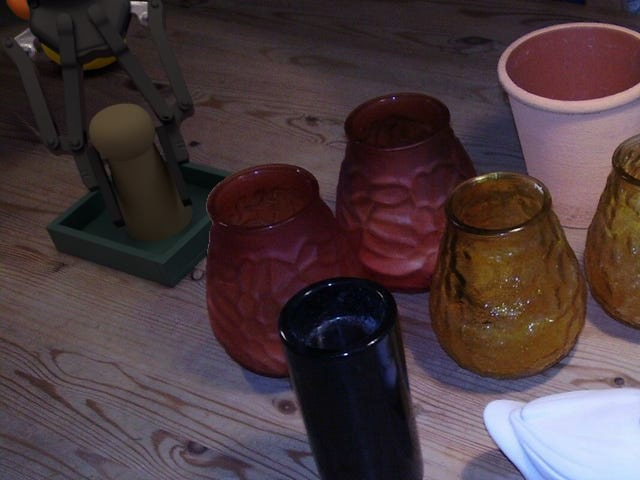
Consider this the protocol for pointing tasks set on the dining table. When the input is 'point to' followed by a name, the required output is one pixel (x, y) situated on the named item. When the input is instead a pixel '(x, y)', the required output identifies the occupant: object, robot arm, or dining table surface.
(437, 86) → the dining table surface
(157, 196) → the brown piece
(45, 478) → the dining table surface
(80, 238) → the tray
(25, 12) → the duckling
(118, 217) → the robot arm
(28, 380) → the dining table surface
